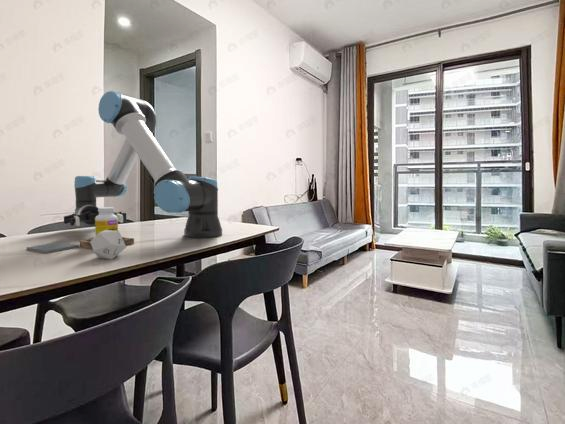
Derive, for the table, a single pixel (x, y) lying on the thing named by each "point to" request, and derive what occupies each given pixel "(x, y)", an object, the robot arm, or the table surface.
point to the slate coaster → (52, 247)
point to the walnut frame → (88, 245)
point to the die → (108, 244)
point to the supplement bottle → (106, 220)
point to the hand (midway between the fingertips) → (100, 220)
